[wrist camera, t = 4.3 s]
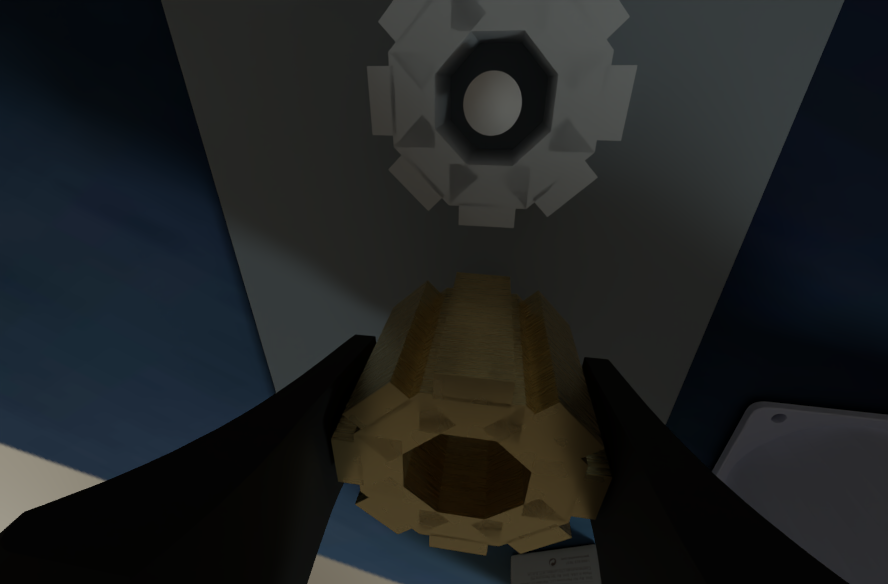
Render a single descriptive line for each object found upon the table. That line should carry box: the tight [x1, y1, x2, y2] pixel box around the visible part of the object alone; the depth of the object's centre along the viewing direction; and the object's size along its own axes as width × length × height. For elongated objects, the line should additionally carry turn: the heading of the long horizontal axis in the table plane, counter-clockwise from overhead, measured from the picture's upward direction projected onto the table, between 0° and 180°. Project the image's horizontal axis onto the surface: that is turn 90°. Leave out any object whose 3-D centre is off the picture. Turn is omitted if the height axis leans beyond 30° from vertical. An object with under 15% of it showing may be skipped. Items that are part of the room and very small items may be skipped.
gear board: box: [161, 0, 844, 425], centre depth 12 cm, size 17×23×4 cm
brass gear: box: [331, 272, 612, 556], centre depth 9 cm, size 6×6×4 cm
